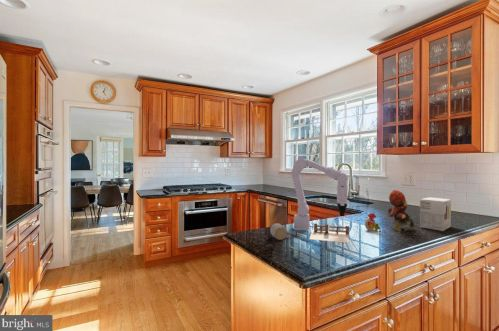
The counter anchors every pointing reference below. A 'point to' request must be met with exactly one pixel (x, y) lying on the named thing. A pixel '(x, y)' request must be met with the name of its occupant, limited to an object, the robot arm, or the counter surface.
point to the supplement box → (435, 213)
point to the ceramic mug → (279, 231)
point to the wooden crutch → (339, 230)
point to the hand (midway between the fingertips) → (342, 216)
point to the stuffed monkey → (399, 210)
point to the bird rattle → (371, 222)
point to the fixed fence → (321, 228)
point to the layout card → (329, 236)
